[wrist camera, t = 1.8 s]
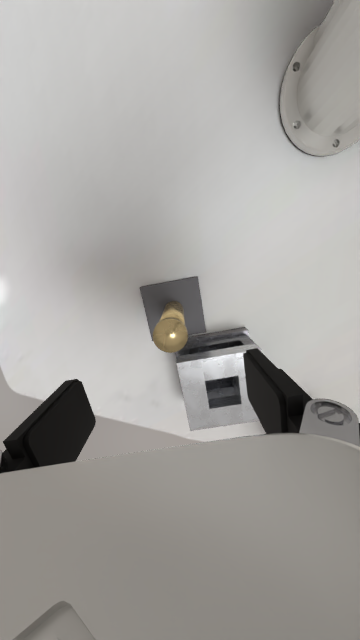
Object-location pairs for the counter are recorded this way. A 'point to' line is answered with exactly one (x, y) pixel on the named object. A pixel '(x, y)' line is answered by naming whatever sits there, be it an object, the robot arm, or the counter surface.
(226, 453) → the robot arm
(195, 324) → the mat
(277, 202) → the counter surface
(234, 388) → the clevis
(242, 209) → the counter surface
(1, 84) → the counter surface
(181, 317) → the pin
